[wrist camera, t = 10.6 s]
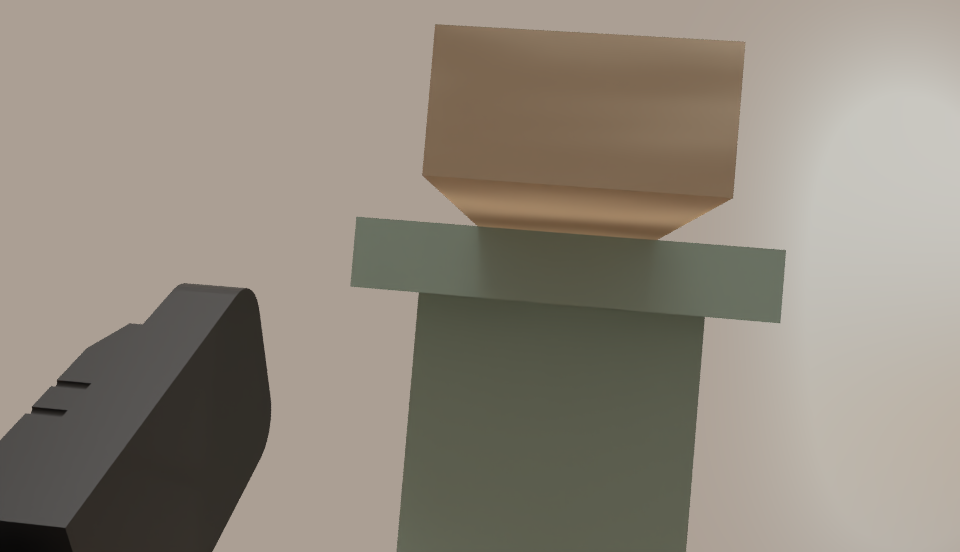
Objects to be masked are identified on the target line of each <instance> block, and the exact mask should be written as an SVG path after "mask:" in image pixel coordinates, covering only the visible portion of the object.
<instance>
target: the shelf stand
mask: <svg viewBox="0 0 960 552" xmlns="http://www.w3.org/2000/svg"><path fill="white" fill-rule="evenodd" d="M785 254H786V250H775V249H763V248H750V247H737V246H723V245H711V244H699V243H686V242H673V241H660V240H647V239H634V238H621V237H608V236H596V235H583V234H570V233H557V232H544V231H531V230H519V229H506V228H493V227H480V226H467V225H454V224H442V223H429V222H416V221H403V220H390V219H377V218H364V217H356V229H355V240H354V252H353V263H352V275H351V286H352V287H364V288H375V289H388V290H398V291H411V292H419V298H418V309H417V322H416V332H415V344H414V356H413V367H412V379H411V390H410V402H409V414H408V426H407V437H406V448H405V461H404V472H403V483H402V496H401V507H400V518H399V530H398V541H397V552H686V544H687V531H688V518H689V507H690V494H691V482H692V469H693V456H694V444H695V432H696V431H695V430H696V419H697V406H698V394H699V381H700V369H701V356H702V344H703V331H704V319H705V317H715V318H726V319H737V320H750V321H761V322H773V323H780V318H781V305H782V294H783V281H784V267H785Z"/></svg>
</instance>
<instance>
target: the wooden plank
mask: <svg viewBox="0 0 960 552" xmlns="http://www.w3.org/2000/svg"><path fill="white" fill-rule="evenodd" d="M433 46H434V47H433V58H432V69H431V80H430V92H429V103H428V115H427V127H426V139H425V150H424V161H423V162H424V163H423V173H422V175H423V176H424V177H425V178H426V179H427V180H428V181H429V182H430V183H431V184H432V185H433V186H435V187H436V188H437V189H438V190H439V191H440V192H441V193H442V194H443V195H444V196H445V197H446V198H447V199H449V200H450V201H451V202H452V203H453V204H454V205H455V206H456V207H457V208H458V209H459V210H461V211H462V212H463V213H464V214H465V215H466V216H467V217H468V218H469V219H470V220H471V221H473V222H474V223H475V224H476V225H477V226H480V227H493V228H506V229H519V230H531V231H544V232H557V233H570V234H583V235H596V236H608V237H621V238H634V239H647V240H658V239H660V238H661V237H663V236H665V235H667V234H669V233H671V232H672V231H674V230H676V229H678V228H679V227H681V226H683V225H685V224H687V223H688V222H690V221H692V220H694V219H696V218H698V217H699V216H701V215H703V214H705V213H707V212H708V211H710V210H712V209H714V208H716V207H717V206H719V205H721V204H723V203H725V202H727V201H728V200H730V199H732V198H733V191H734V190H733V189H734V178H735V166H736V153H737V139H738V128H739V115H740V103H741V90H742V78H743V64H744V53H745V42H740V41H720V40H704V39H686V38H669V37H651V36H650V37H649V36H633V35H615V34H597V33H580V32H560V31H544V30H526V29H509V28H491V27H473V26H454V25H437V24H436V25H435V34H434V45H433Z"/></svg>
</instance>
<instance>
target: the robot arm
mask: <svg viewBox="0 0 960 552" xmlns="http://www.w3.org/2000/svg"><path fill="white" fill-rule="evenodd" d="M270 420H271V398H270V391H269V382H268V375H267V367H266V359H265V351H264V344H263V336H262V329H261V320H260V313H259V307H258V302H257V299H256V297H255V294H254V293H253V292H252V291H251V290H250V289H247V288H236V287H224V286H212V285H199V284H187V283H184V284H180V285H178V286H177V287H176V288H175V289H174V290H173V291H172V292H171V293H170V294H169V295H168V297H167V298H166V299H165V300H164V301H163V302H162V303H161V304H160V306H159V307H158V308H157V309H156V310H155V311H154V312H153V314H152V315H151V316H150V317H149V318H148V319H147V320H146V322H145V323H144V324H143V325H142V324H128V325H126V326H125V327H123V328H121V329H119V330H118V331H116V332H114V333H112V334H111V335H109V336H107V337H106V338H104V339H102V340H100V341H99V342H97V343H95V344H94V345H92V346H90V347H88V348H87V349H86V350H85V351H84V352H83V353H82V354H81V355H80V356H79V357H78V358H77V359H76V360H75V361H74V362H73V364H72V365H71V366H70V367H69V368H68V369H67V370H66V371H65V372H64V373H63V374H62V376H60V377H59V378H58V379H57V385H56V387H53V386H51V387H50V388H49V389H48V390H47V391H46V392H45V393H44V394H43V395H42V397H41V398H40V399H39V400H38V401H37V402H36V403H35V404H34V405H33V406H32V412H31V414H25V415H24V416H23V417H22V418H21V419H20V420H19V421H18V422H17V423H16V424H15V425H14V426H13V427H12V429H10V431H9V432H8V433H7V434H6V435H5V436H4V437H3V438H2V439H1V440H0V552H212V551H213V549H214V547H215V546H216V543H217V542H218V540H219V538H220V536H221V534H222V532H223V530H224V528H225V526H226V524H227V522H228V520H229V518H230V516H231V515H232V513H233V511H234V509H235V507H236V505H237V503H238V501H239V499H240V497H241V495H242V493H243V491H244V489H245V487H246V486H247V483H248V482H249V480H250V477H251V476H252V474H253V472H254V470H255V468H256V466H257V464H258V462H259V460H260V458H261V456H262V454H263V451H264V449H265V445H266V442H267V438H268V433H269V428H270Z"/></svg>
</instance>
